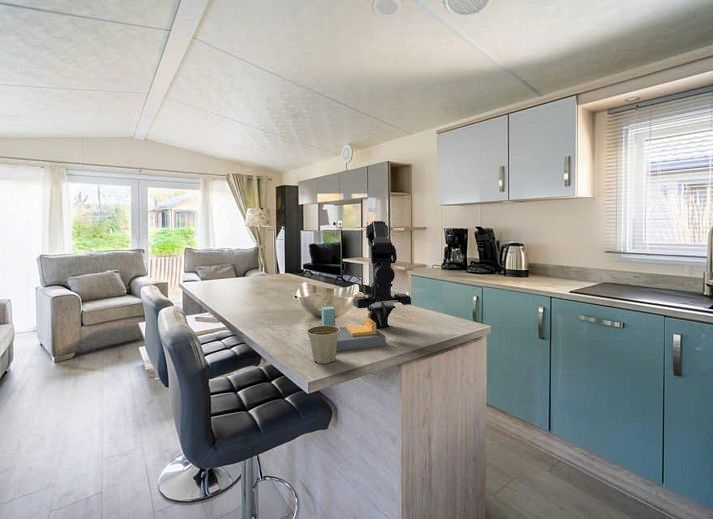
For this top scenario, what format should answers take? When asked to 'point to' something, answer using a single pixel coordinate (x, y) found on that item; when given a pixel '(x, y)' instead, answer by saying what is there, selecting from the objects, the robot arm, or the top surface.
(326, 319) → the plug
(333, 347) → the flower pot
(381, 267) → the robot arm
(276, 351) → the top surface
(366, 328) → the orange block
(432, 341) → the top surface
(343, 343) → the socket plate
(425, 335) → the top surface
